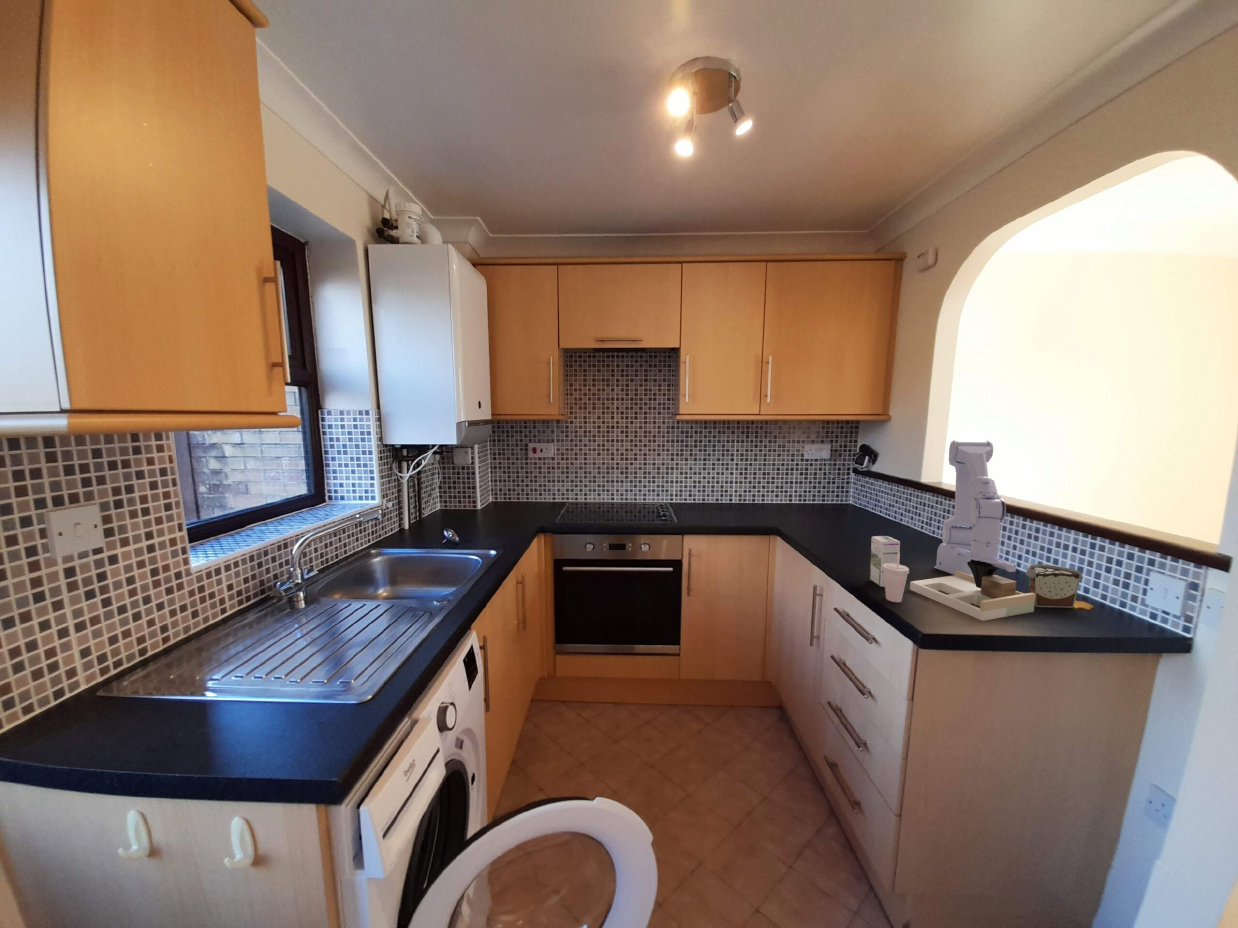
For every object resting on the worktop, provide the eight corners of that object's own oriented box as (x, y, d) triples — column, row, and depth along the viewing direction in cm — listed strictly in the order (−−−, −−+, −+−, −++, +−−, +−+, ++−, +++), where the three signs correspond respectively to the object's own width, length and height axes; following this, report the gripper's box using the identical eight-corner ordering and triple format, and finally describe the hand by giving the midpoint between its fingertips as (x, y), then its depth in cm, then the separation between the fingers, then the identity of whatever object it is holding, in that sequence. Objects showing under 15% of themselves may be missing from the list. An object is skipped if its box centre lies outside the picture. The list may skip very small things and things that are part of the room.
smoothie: (911, 605, 114) (915, 556, 112) (886, 603, 115) (889, 555, 114) (900, 595, 120) (903, 549, 119) (876, 593, 121) (879, 548, 120)
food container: (1057, 597, 117) (1061, 563, 116) (1079, 607, 111) (1083, 572, 110) (1010, 596, 118) (1013, 563, 117) (1029, 606, 112) (1033, 571, 111)
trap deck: (909, 589, 124) (910, 573, 124) (955, 582, 128) (957, 567, 128) (982, 620, 105) (984, 602, 104) (1033, 611, 109) (1035, 593, 109)
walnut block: (980, 593, 115) (982, 576, 114) (993, 591, 116) (995, 574, 115) (1001, 601, 110) (1002, 583, 109) (1014, 599, 111) (1016, 581, 110)
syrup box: (898, 586, 126) (901, 541, 124) (879, 587, 126) (881, 541, 125) (887, 579, 132) (889, 535, 130) (868, 579, 132) (870, 535, 130)
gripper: (947, 534, 121) (944, 579, 123) (1003, 550, 107) (999, 599, 109) (966, 532, 123) (962, 576, 124) (1023, 547, 109) (1018, 596, 110)
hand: (980, 587), depth 117 cm, fingers closed
